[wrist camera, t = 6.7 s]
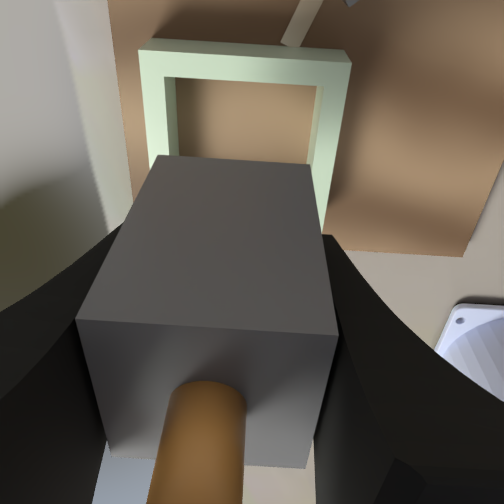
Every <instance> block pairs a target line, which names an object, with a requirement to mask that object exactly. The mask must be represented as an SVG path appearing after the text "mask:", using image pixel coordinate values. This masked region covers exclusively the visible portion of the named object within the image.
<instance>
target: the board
mask: <svg viewBox="0 0 504 504" xmlns="http://www.w3.org/2000/svg"><path fill="white" fill-rule="evenodd" d="M108 8H109V16H110V24H111V32H112V39H113V47H114V55H115V63H116V70H117V78H118V86H119V94H120V102H121V109H122V117H123V125H124V133H125V140H126V148H127V156H128V164H129V172H130V179H131V187H132V195H133V203H134V201H135V199H136V197H137V195H138V193H139V191H140V189H141V187H142V185H143V183H144V181H145V179H146V177H147V175H148V173H149V171H150V167H149V157H148V146H147V136H146V126H145V116H144V106H143V95H142V85H141V75H140V65H139V54H138V49H139V48H141V47H142V46H143V45H144V44H145V43H146V42H147V41H148V40H149V39H151V38H162V39H179V40H195V41H211V42H227V43H243V44H259V45H275V46H288V47H298V48H299V47H307V48H324V49H340V50H344V51H345V53H346V54H347V56H348V58H349V59H350V61H351V62H352V65H351V71H350V77H349V82H348V88H347V94H346V99H345V105H344V111H343V116H342V122H341V128H340V133H339V139H338V145H337V150H336V156H335V162H334V167H333V173H332V179H331V184H330V190H329V196H328V201H327V207H326V213H325V218H324V224H323V230H322V234H330V235H333V236H334V238H335V239H336V240H337V242H338V243H339V245H340V246H341V248H342V249H343V250H352V251H368V252H384V253H401V254H417V255H434V256H450V257H463V254H464V252H465V250H466V247H467V245H468V243H469V240H470V238H471V236H472V233H473V231H474V229H475V226H476V224H477V221H478V219H479V217H480V214H481V212H482V210H483V207H484V205H485V203H486V200H487V198H488V196H489V193H490V191H491V189H492V186H493V184H494V181H495V179H496V177H497V174H498V172H499V170H500V167H501V165H502V163H503V160H504V0H359V1H357V2H356V3H355V4H353V5H352V6H351V7H348V6H347V5H346V4H345V3H344V2H343V1H342V0H108ZM175 86H176V105H177V124H178V143H179V156H188V157H203V158H219V159H234V160H250V161H265V162H280V163H296V164H307V156H308V149H309V141H310V134H311V127H312V119H313V112H314V104H315V97H316V90H317V86H310V85H294V84H278V83H262V82H245V81H229V80H213V79H197V78H181V77H175Z"/></svg>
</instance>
